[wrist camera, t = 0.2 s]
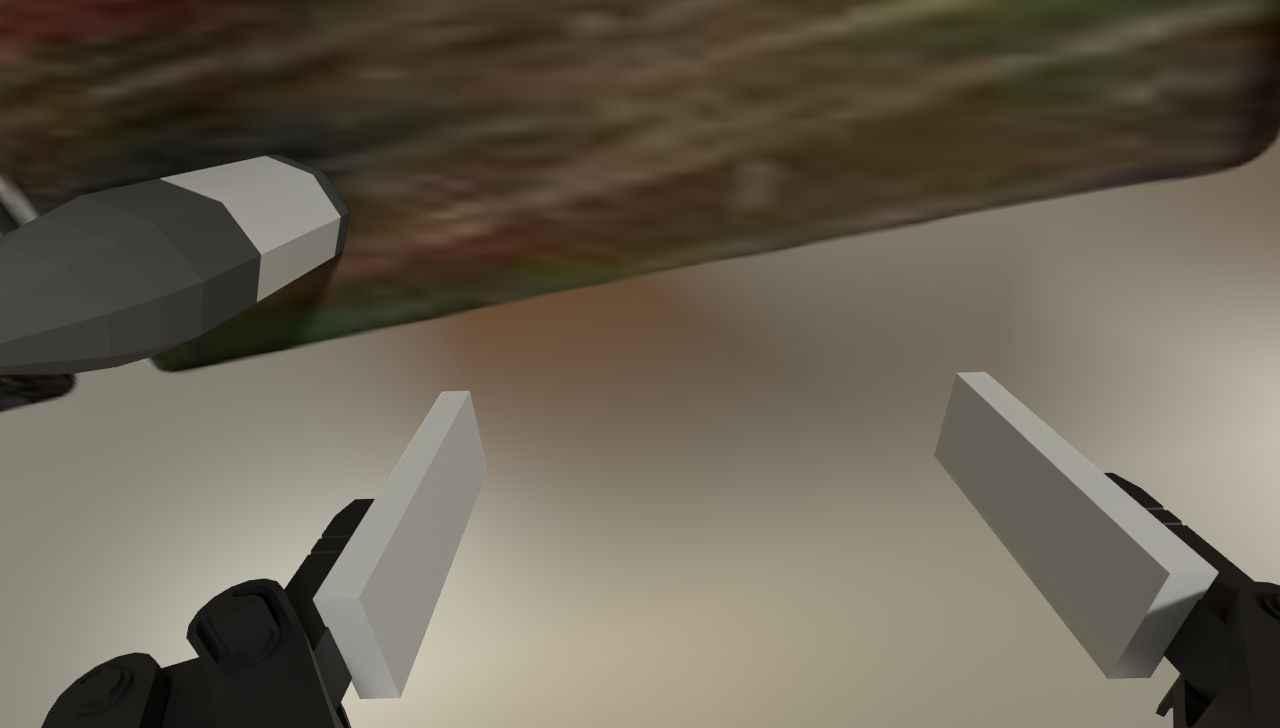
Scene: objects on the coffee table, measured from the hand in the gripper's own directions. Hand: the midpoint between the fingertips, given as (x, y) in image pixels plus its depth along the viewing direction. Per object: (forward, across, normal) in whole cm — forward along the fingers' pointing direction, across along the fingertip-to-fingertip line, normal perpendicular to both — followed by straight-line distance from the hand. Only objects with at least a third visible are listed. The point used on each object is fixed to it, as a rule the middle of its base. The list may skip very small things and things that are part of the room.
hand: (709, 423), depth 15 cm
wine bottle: (+28, -27, +1) cm, 39 cm away
